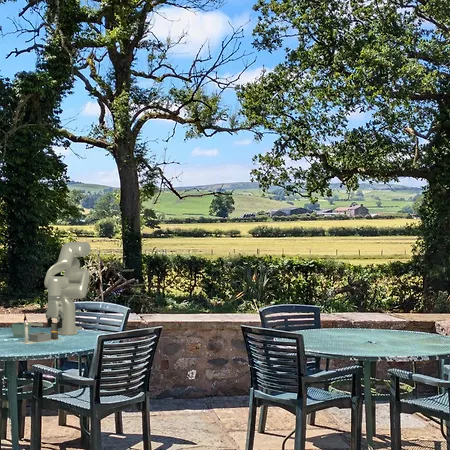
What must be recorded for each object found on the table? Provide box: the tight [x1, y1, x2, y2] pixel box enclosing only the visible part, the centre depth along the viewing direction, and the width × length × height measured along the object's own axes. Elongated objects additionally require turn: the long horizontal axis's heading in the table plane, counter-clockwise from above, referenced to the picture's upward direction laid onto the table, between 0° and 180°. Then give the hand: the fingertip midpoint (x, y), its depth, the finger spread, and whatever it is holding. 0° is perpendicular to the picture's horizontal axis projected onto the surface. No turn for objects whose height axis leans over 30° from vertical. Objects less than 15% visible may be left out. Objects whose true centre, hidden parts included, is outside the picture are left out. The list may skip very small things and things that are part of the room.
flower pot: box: [11, 321, 32, 339], centre depth 418 cm, size 9×9×9 cm
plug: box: [50, 322, 60, 340], centre depth 412 cm, size 5×5×9 cm
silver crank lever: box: [23, 321, 44, 327], centre depth 397 cm, size 13×3×2 cm, turn 64°
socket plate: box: [19, 326, 54, 345], centre depth 404 cm, size 17×10×10 cm, turn 139°
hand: (54, 327), depth 412 cm, fingers open, 9 cm apart
